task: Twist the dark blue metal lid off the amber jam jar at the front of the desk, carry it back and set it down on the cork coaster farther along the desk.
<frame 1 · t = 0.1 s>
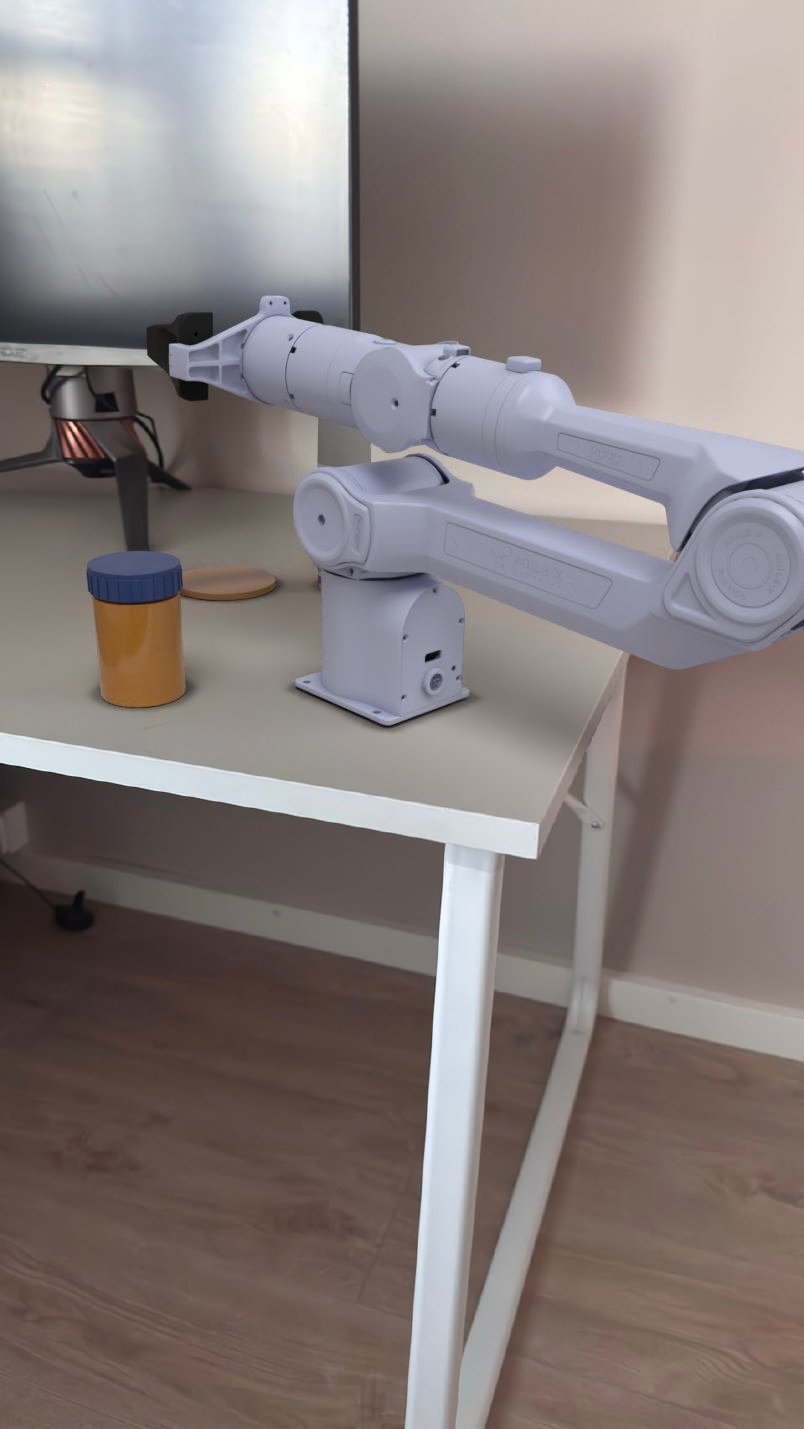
hand: (196, 340, 78), 22 cm above the table, tool horizontal, fingers open, 7 cm apart
jar: (143, 691, 73), on the table
lid: (134, 567, 69), point 9 cm above the table, screwed on, not yet turned
coaster: (225, 585, 96), on the table
container: (343, 588, 97), on the table
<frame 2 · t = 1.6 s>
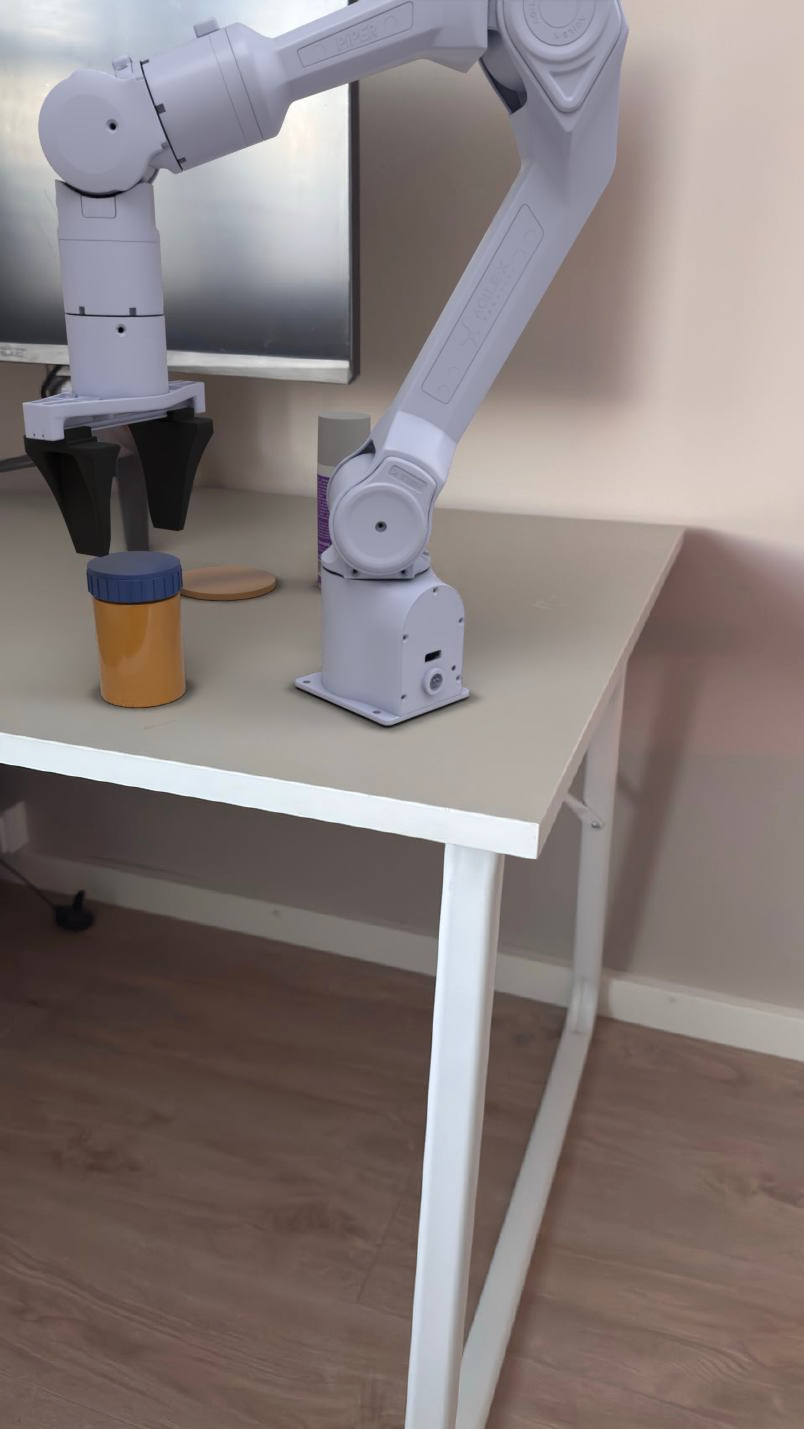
hand: (132, 540, 69), 10 cm above the table, tool pointing down, fingers open, 7 cm apart
nothing on the table moved.
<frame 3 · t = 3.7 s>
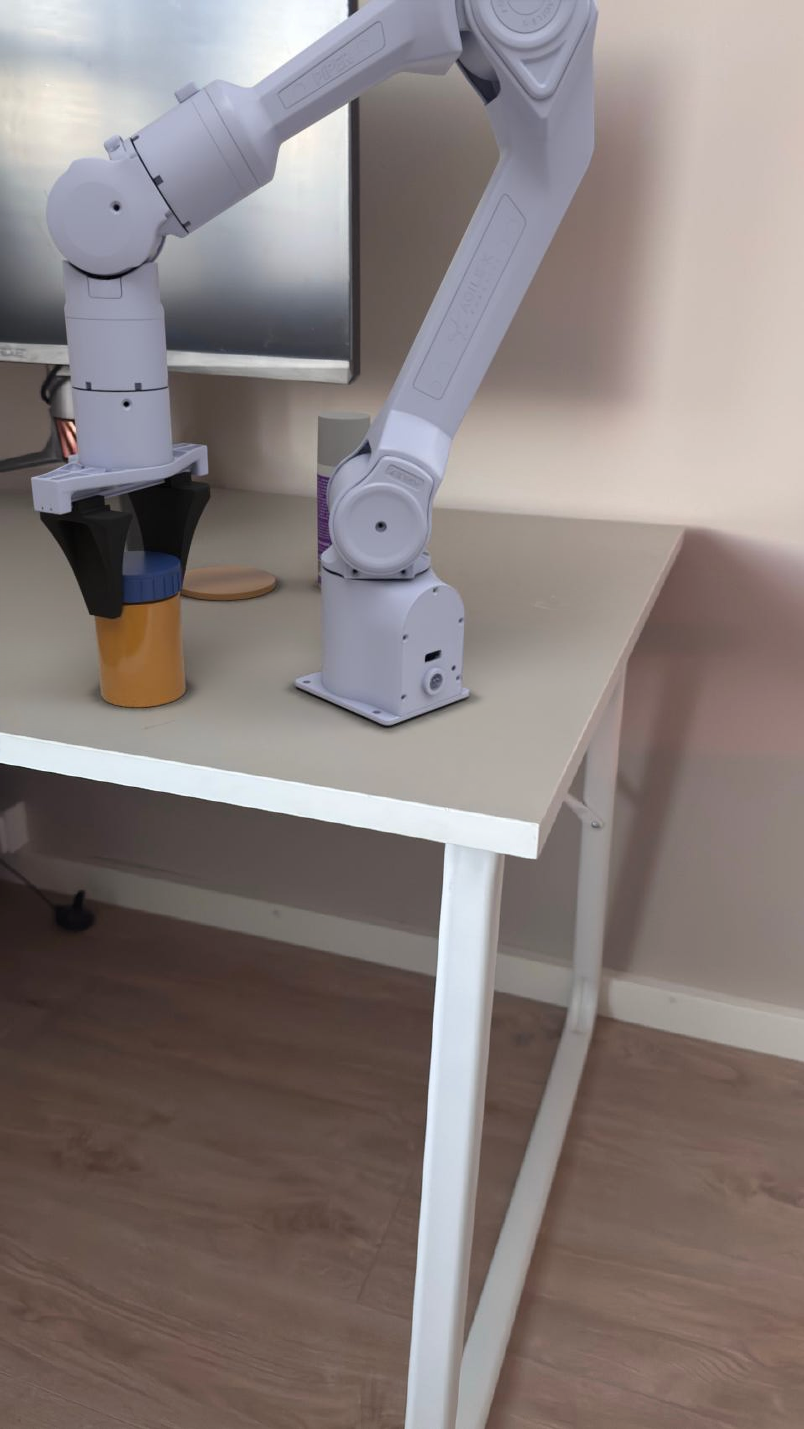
hand: (137, 602, 70), 6 cm above the table, tool pointing down, fingers closed on lid, 6 cm apart
lid: (134, 567, 69), point 9 cm above the table, screwed on, not yet turned, touching gripper
everything else where it was.
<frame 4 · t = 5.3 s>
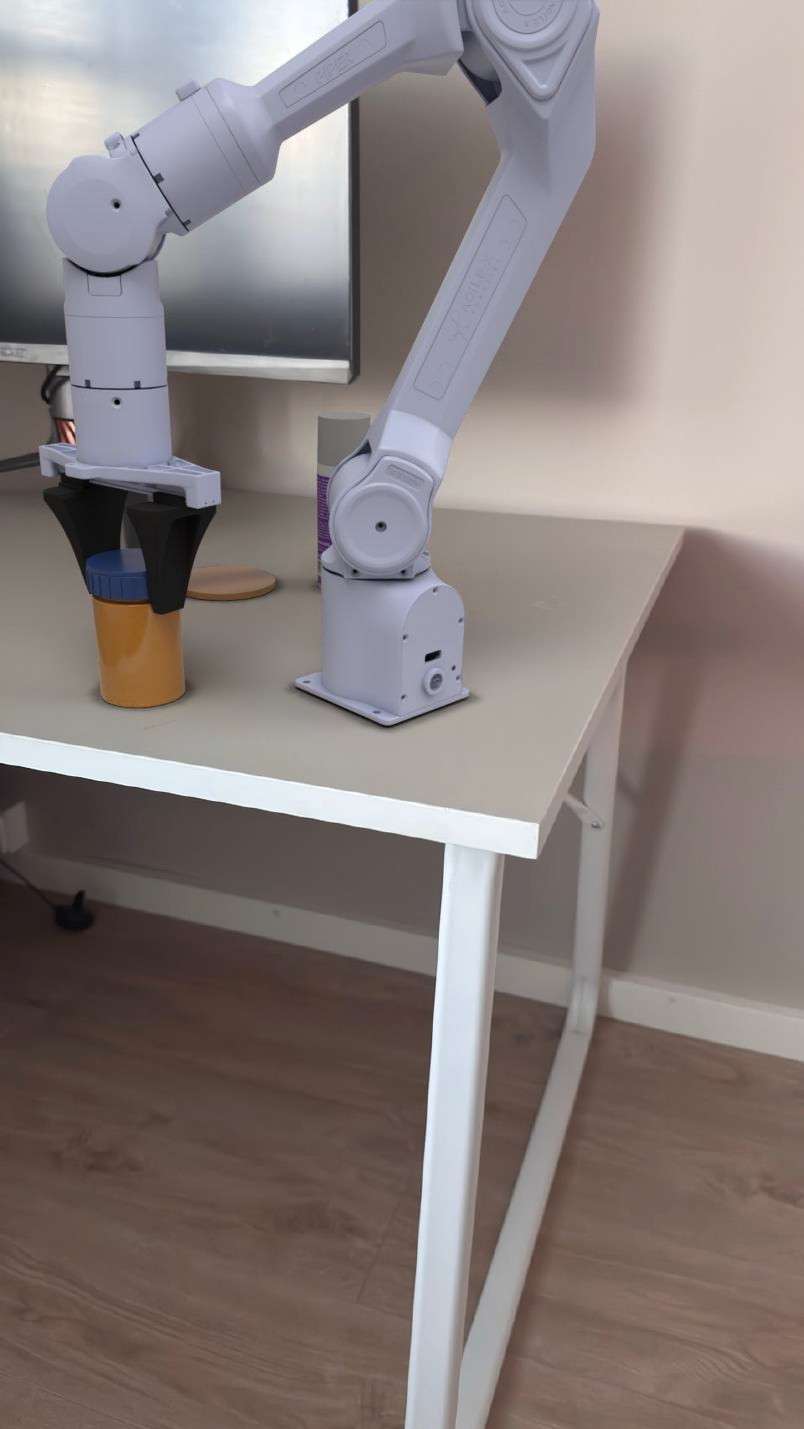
hand: (135, 600, 70), 6 cm above the table, tool pointing down, fingers closed on lid, 6 cm apart
lid: (133, 564, 69), point 9 cm above the table, turned 79° so far, risen 0.2 cm, still on its thread, touching gripper
everything else where it was.
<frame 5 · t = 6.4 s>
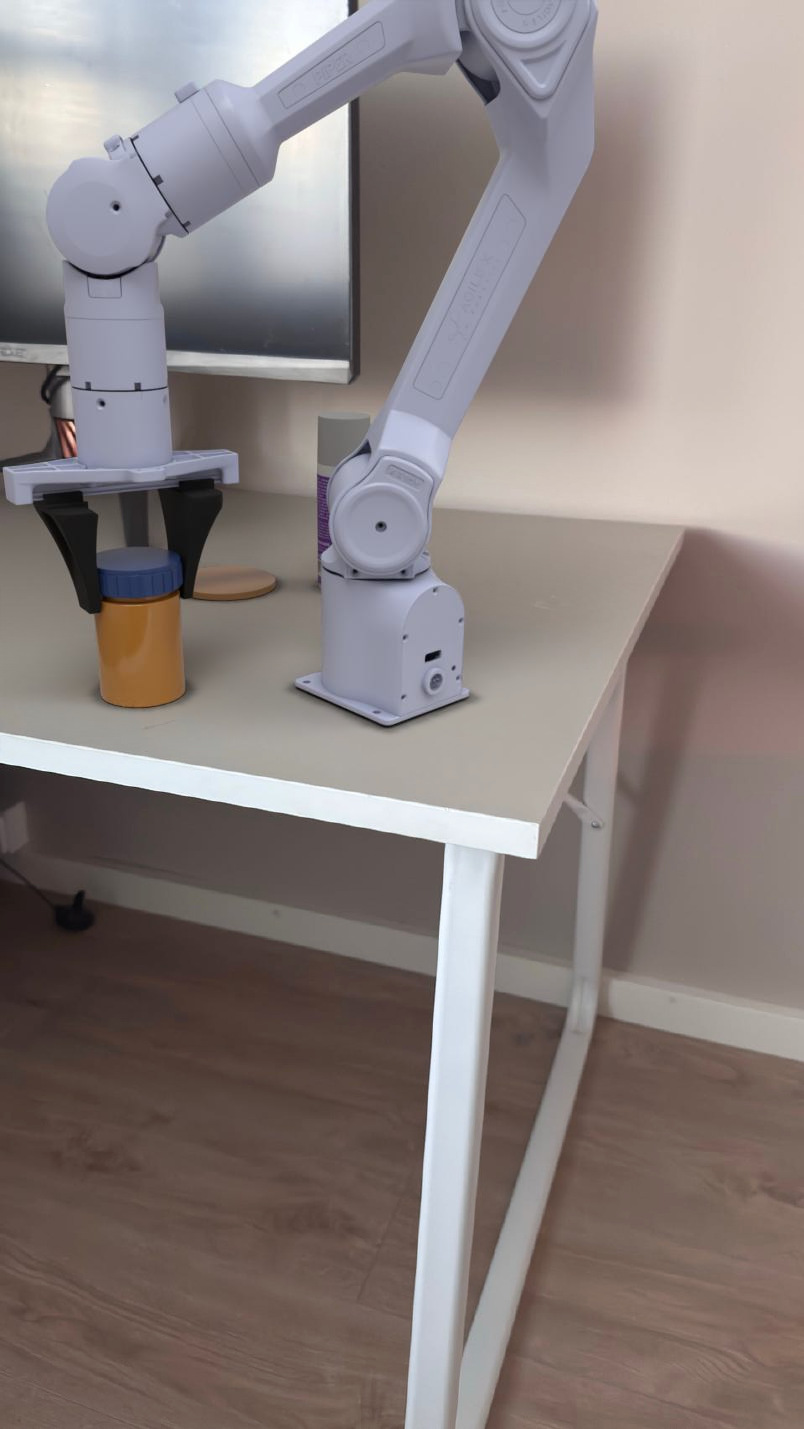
hand: (136, 602, 70), 6 cm above the table, tool pointing down, fingers closed on lid, 6 cm apart
jar: (143, 691, 73), on the table, touching gripper
lid: (134, 562, 69), point 9 cm above the table, off its thread, touching gripper
everything else where it was.
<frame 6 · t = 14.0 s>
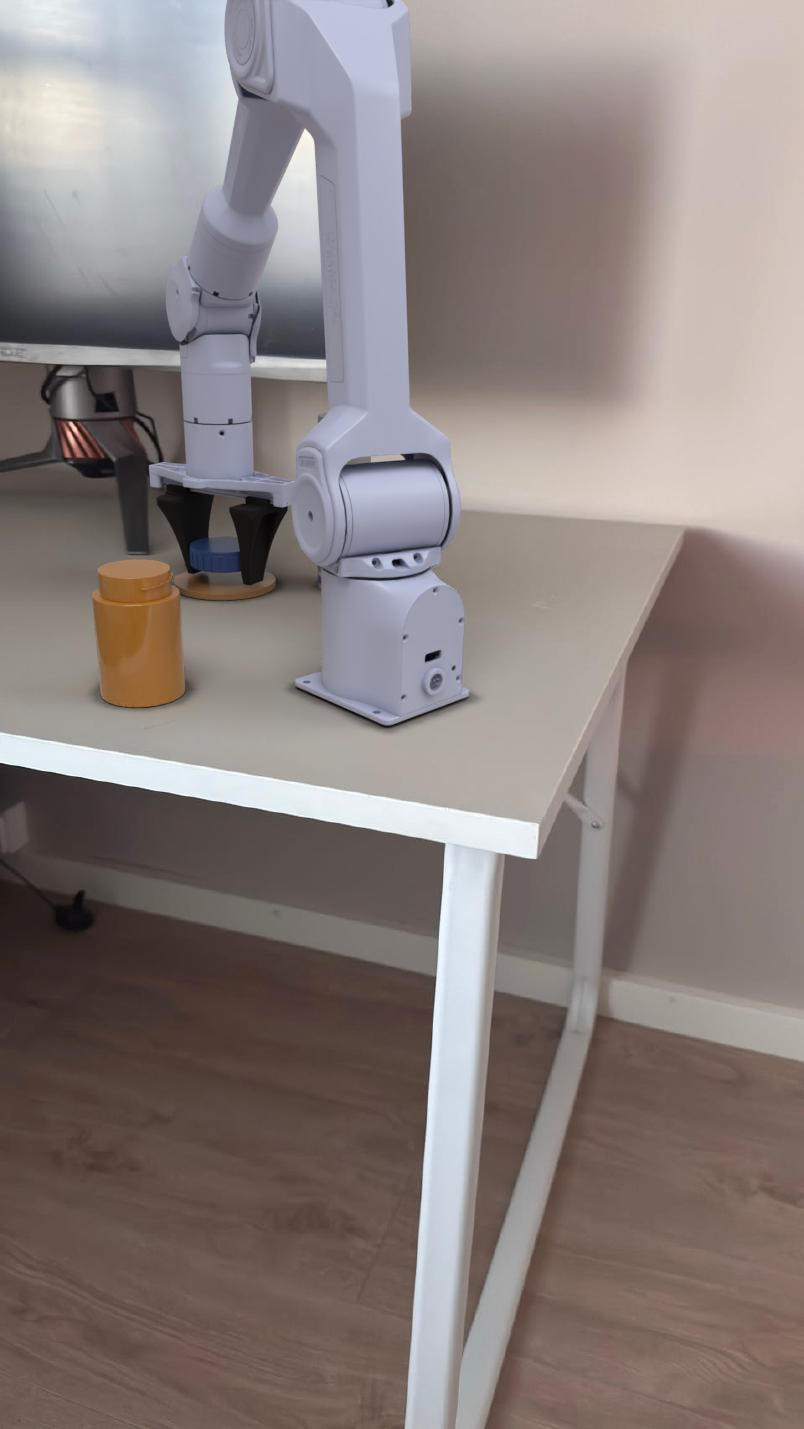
hand: (224, 576, 96), 1 cm above the table, tool pointing down, fingers closed on lid, 6 cm apart
jar: (143, 691, 73), on the table
lid: (223, 547, 95), point 3 cm above the table, off its thread, touching gripper
everything else where it was.
when the fingers open (2 cm above the table, at t = 21.4 s): lid drops 2 cm, resting on coaster.
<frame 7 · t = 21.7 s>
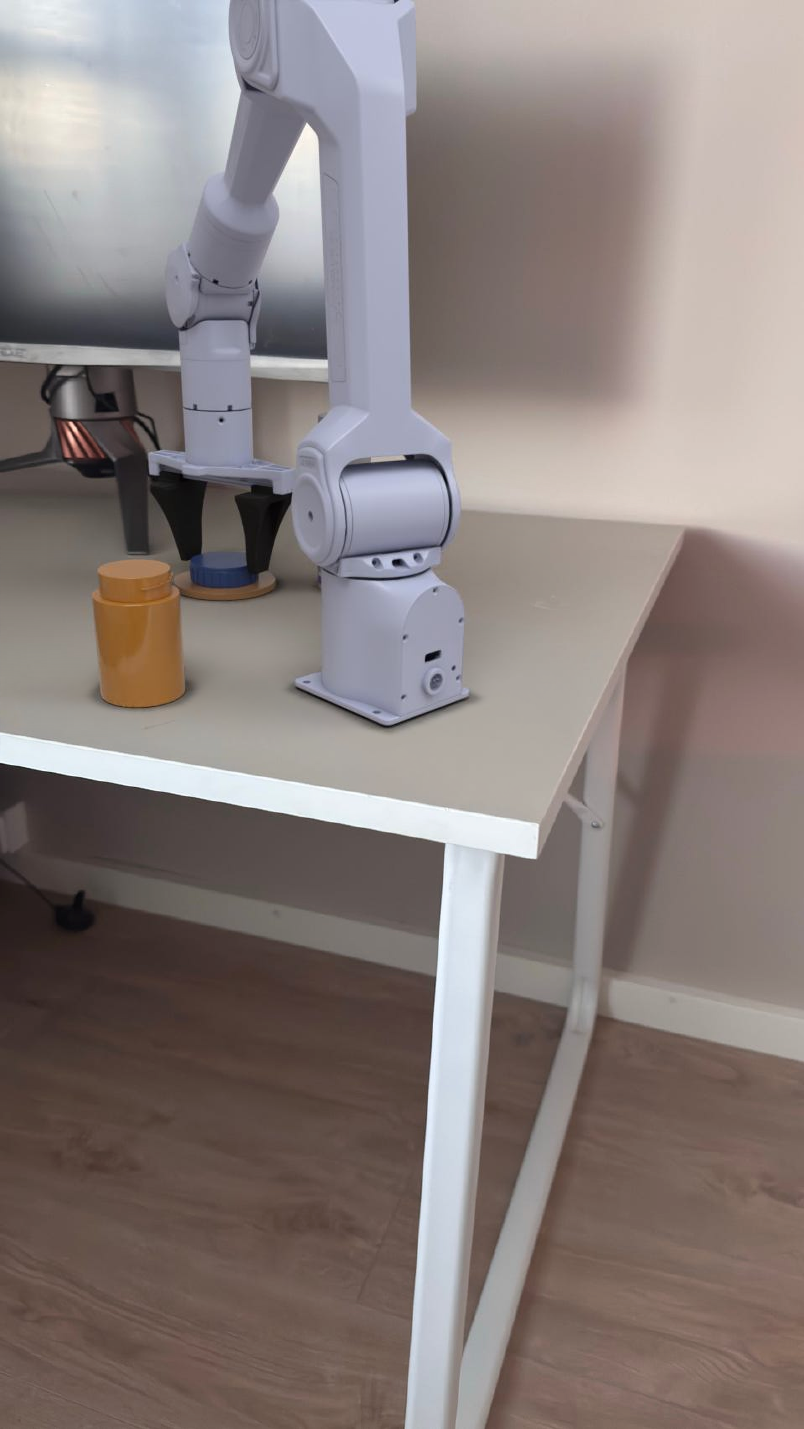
hand: (224, 565, 95), 2 cm above the table, tool pointing down, fingers open, 7 cm apart
lid: (224, 562, 95), point 2 cm above the table, off its thread, touching coaster
everything else where it was.
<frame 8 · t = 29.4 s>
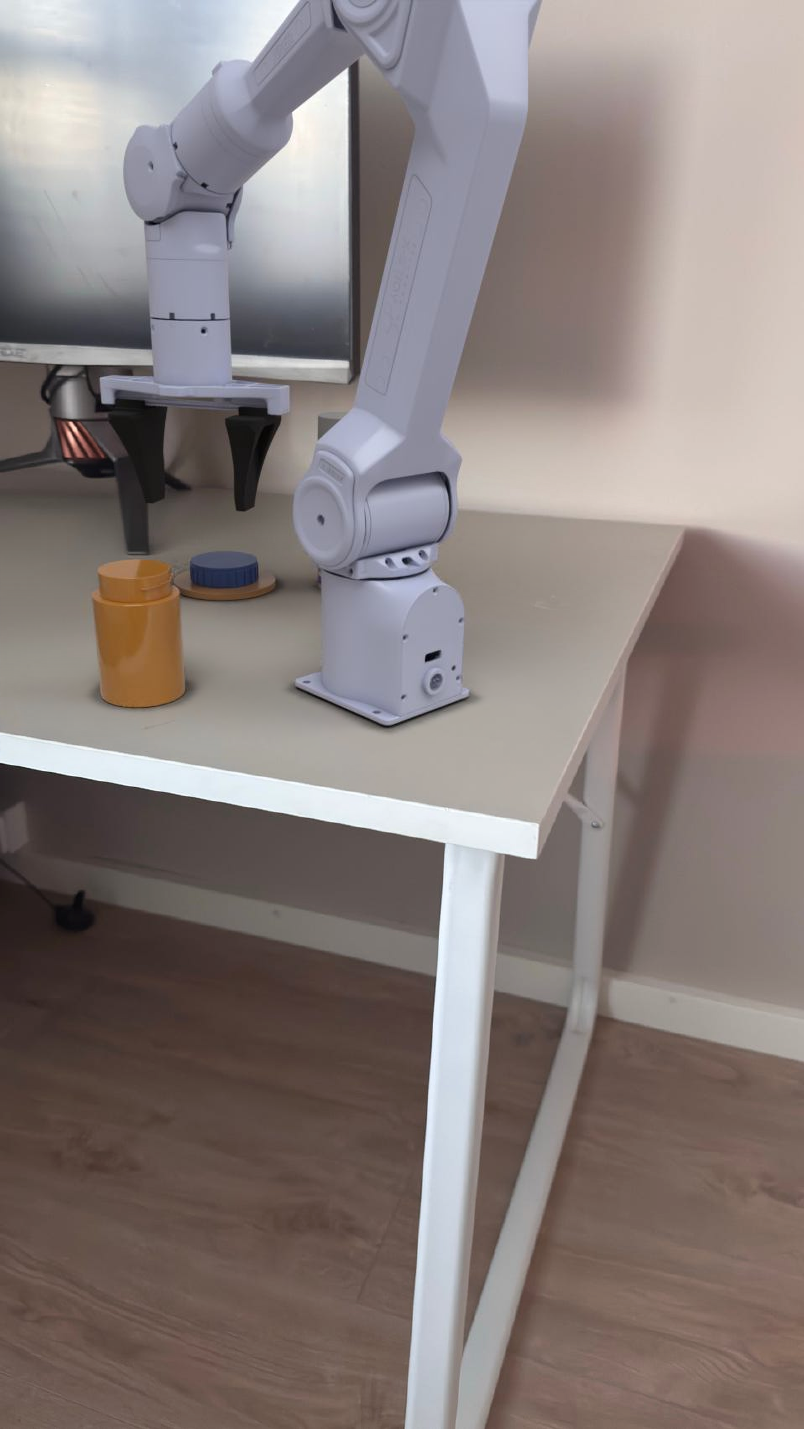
hand: (199, 504, 83), 9 cm above the table, tool pointing down, fingers open, 7 cm apart
nothing on the table moved.
at the end: lid came off its thread; lid inside the target area on the coaster (0.0 cm from its centre), point 2.1 cm above the coaster's base; the gripper is holding nothing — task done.
